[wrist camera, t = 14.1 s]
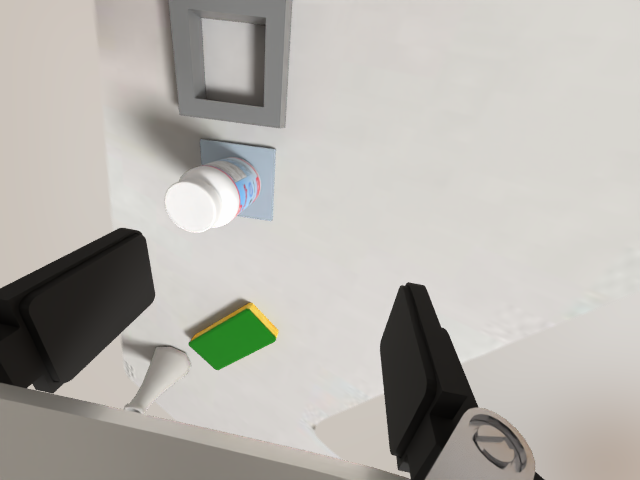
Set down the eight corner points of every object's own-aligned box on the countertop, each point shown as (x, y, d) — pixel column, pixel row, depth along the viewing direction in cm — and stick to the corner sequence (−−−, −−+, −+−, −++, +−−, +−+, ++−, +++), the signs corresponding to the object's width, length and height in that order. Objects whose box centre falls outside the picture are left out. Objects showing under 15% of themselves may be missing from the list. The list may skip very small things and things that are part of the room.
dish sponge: (280, 330, 44) (276, 341, 42) (222, 360, 49) (216, 371, 46) (252, 299, 42) (246, 309, 40) (194, 333, 47) (186, 344, 44)
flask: (191, 349, 48) (153, 403, 39) (192, 376, 51) (158, 432, 42) (152, 341, 48) (105, 393, 39) (155, 369, 51) (113, 423, 42)
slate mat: (202, 139, 32) (199, 139, 32) (275, 149, 32) (274, 149, 31) (206, 209, 36) (204, 211, 35) (272, 219, 36) (271, 221, 35)
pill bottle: (248, 213, 35) (207, 252, 25) (207, 187, 34) (146, 216, 24) (271, 175, 33) (235, 201, 22) (227, 145, 32) (168, 158, 21)
